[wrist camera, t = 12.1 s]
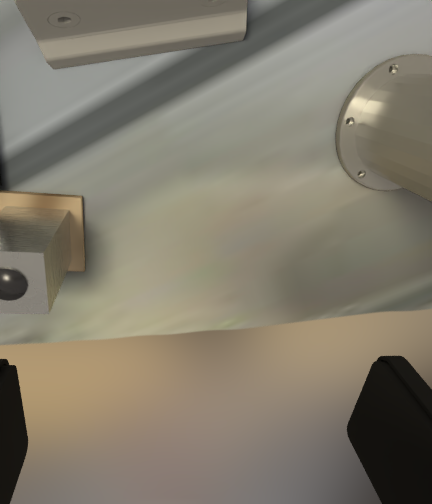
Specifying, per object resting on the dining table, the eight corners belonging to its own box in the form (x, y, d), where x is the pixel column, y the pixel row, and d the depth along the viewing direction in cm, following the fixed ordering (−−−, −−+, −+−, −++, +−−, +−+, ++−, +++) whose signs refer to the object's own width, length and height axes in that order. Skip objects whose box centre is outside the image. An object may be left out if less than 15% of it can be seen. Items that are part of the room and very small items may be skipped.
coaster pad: (82, 195, 35) (81, 198, 34) (85, 268, 38) (84, 271, 38) (-10, 189, 33) (-13, 191, 33) (2, 265, 37) (0, 268, 36)
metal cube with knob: (68, 209, 35) (42, 254, 27) (71, 260, 37) (48, 315, 29) (6, 205, 34) (-42, 250, 26) (13, 258, 36) (-28, 314, 28)
